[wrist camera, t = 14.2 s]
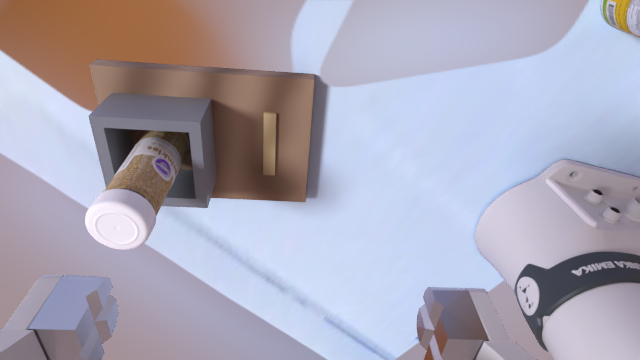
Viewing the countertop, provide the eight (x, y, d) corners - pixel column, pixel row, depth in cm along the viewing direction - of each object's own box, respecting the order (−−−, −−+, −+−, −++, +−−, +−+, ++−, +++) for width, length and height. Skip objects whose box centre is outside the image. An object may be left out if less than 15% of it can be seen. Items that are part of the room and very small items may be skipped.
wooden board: (314, 74, 40) (314, 80, 38) (305, 194, 48) (305, 203, 46) (95, 59, 38) (87, 65, 37) (123, 185, 46) (117, 194, 45)
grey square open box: (211, 98, 39) (200, 122, 35) (216, 178, 44) (207, 207, 40) (111, 92, 39) (88, 116, 34) (128, 174, 44) (110, 203, 39)
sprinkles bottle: (199, 139, 42) (161, 227, 30) (174, 168, 43) (128, 261, 32) (159, 110, 40) (102, 192, 29) (134, 141, 41) (71, 230, 30)
